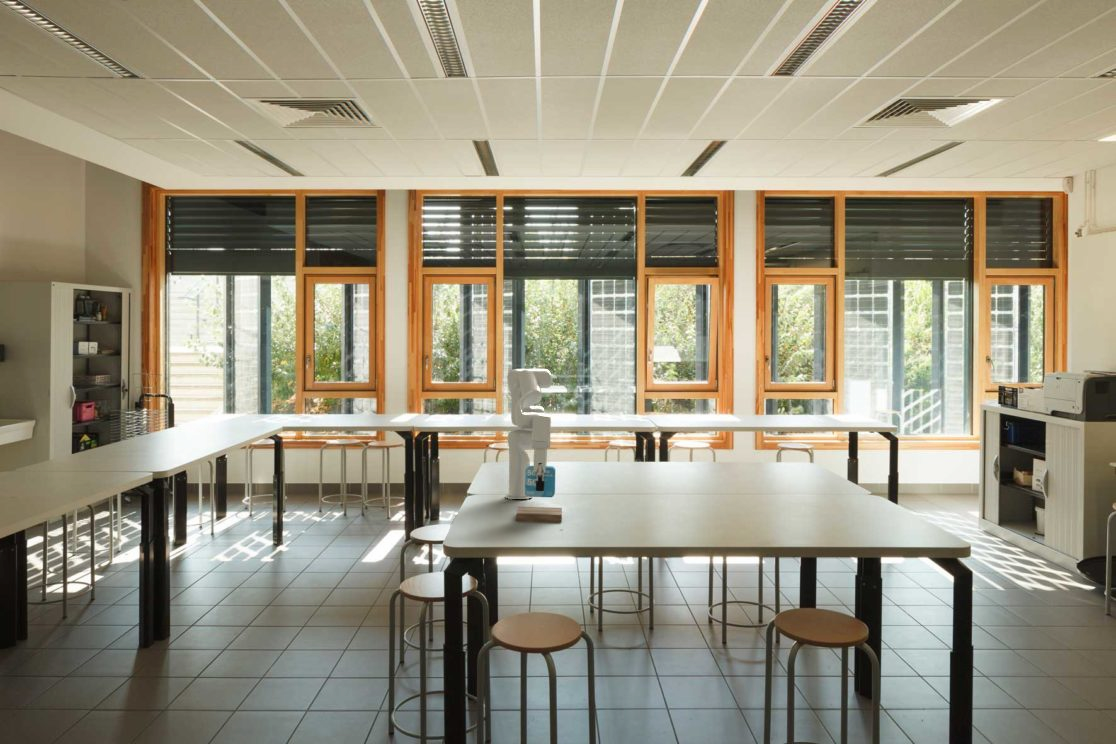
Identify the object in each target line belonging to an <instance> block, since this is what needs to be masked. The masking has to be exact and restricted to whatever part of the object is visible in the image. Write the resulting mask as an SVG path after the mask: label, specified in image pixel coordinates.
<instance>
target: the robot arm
mask: <svg viewBox="0 0 1116 744" xmlns="http://www.w3.org/2000/svg"><path fill="white" fill-rule="evenodd" d="M506 376H507V377H506V378H507V385H508V389H509V391H510V395H511V396H510V398H511V400H510V401H511V404H510V405H511V407H510V413H511V414H510V418H511V419H510V420H511V424H513V425H514V426H517V428H518V429H512V430H511V431H509V432H508V434H507V444H508V445H507V446H508V493H505V496H504V498H505V497H506V499H507V498H508V499H507V500H512V499H527V500H530V499H529V498H531V499H533V497H528V496H526V495H525V470H526V468H527V467H528V466H531V465H530V464H531V461H530V457H529V456H528V454H527V453H526V452H525V451H533V465H532V466H533V473H534V474H535V472H537V481H536V491H544V481H543V479H544V473H545V471H546V466H548V465H547V463H548V450H550V449H551V430H552V429H551V427H552V420H551V419H552V418H551V416H550V414H549V413H548V412H547V413H546V410H545V408H544V407H543V406H541V405H536V404H538V403H539V402H540V401H541V400H542V398H543V394H542V390H541V389H549V388H551V386H552V383H553V378H552V377H553V376H552V373H551V371H550V370H549V369H548V368H515V369H514V368H512V369H510V370H509V371H508V372H507V375H506ZM542 472H543V473H542Z"/></svg>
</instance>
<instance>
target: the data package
mask: <svg viewBox="0 0 1116 744" xmlns="http://www.w3.org/2000/svg"><path fill="white" fill-rule="evenodd" d="M542 473H543V472H542ZM536 481H537V472H535V474H534V473H533V465H530V466H528V467H527V468H526V470H525V495H526V496H528V497H532V498H553V497H554V496H555V493H556V468H555V467H554V466H552V465H546V471H545V473H544V479H543V481H544V491H536Z"/></svg>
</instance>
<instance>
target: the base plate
mask: <svg viewBox="0 0 1116 744" xmlns="http://www.w3.org/2000/svg"><path fill="white" fill-rule="evenodd" d="M562 511H563V508H562V507H547V506H545V507H542V506H541V507H540V506H538V507H537V506H536V507H535V506H518V507H517V511H516V518H515V520H516V521H534V522H533V523H557V522H562V523H563V521H562V519H563V514H562V513H563V512H562ZM516 521H515V522H516Z"/></svg>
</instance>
